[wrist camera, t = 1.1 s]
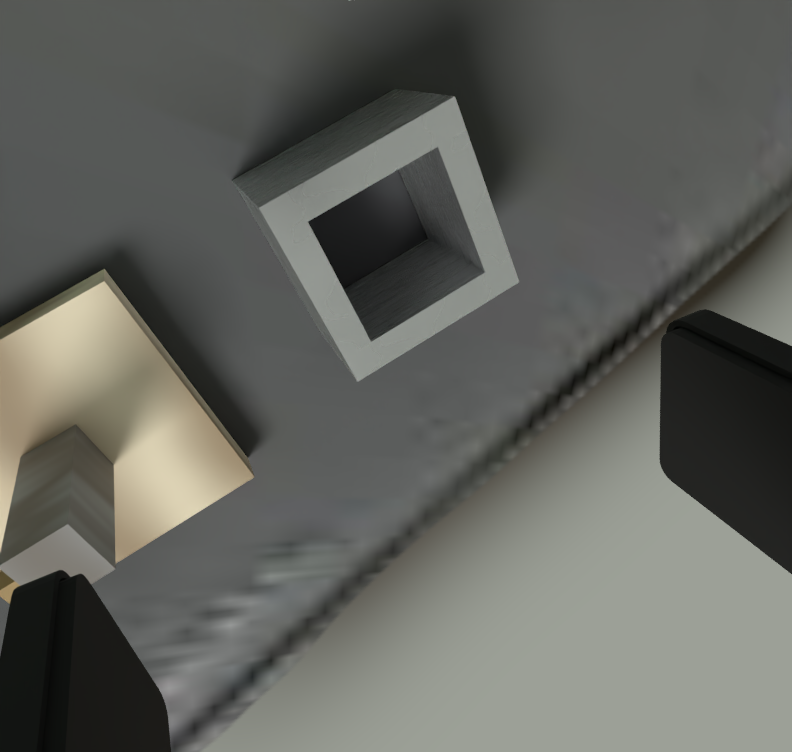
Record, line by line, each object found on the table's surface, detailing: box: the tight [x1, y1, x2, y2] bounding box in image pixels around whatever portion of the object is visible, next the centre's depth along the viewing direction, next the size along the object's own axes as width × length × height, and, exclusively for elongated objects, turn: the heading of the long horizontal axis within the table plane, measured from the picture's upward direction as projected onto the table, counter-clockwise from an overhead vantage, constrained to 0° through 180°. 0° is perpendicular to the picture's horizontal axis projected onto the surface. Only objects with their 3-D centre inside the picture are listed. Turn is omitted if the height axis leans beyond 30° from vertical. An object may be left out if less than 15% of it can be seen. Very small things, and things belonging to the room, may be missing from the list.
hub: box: [232, 89, 519, 382], centre depth 24 cm, size 7×7×5 cm
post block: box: [0, 269, 254, 604], centre depth 22 cm, size 10×10×8 cm
